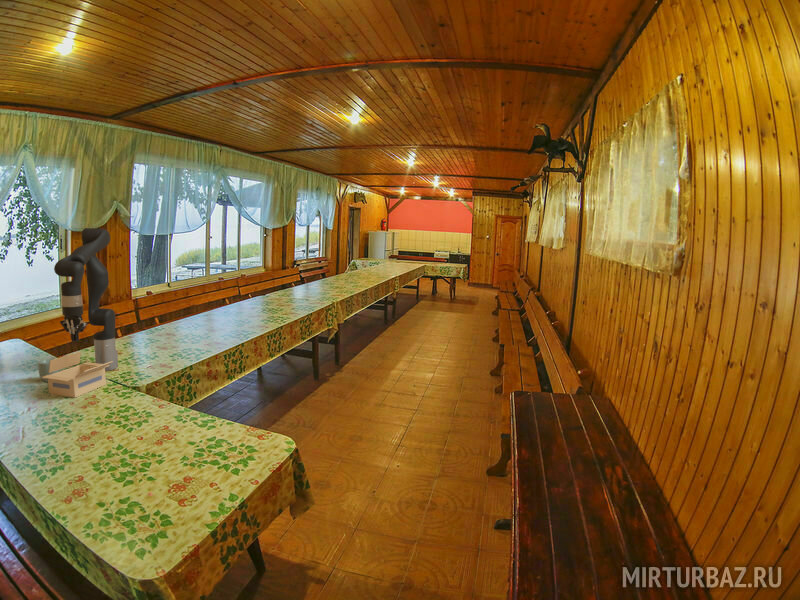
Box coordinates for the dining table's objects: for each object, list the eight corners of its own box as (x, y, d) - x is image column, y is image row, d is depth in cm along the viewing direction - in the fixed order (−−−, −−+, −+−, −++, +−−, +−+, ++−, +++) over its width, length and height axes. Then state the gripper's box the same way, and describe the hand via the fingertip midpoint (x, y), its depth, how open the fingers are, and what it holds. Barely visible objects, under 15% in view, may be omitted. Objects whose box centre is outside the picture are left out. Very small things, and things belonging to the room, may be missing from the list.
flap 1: (79, 363, 202) (78, 362, 202) (80, 351, 201) (80, 351, 201) (49, 372, 188) (48, 372, 188) (50, 360, 187) (49, 360, 187)
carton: (87, 379, 208) (86, 361, 206) (111, 383, 205) (110, 365, 204) (42, 396, 186) (40, 377, 184) (68, 400, 184) (66, 380, 182)
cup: (48, 384, 200) (46, 364, 198) (35, 382, 201) (33, 362, 200) (64, 378, 207) (63, 359, 206) (51, 376, 209) (50, 357, 207)
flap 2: (75, 376, 186) (75, 377, 186) (84, 370, 184) (84, 371, 184) (104, 366, 200) (104, 367, 200) (112, 360, 199) (113, 361, 199)
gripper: (92, 304, 191) (94, 340, 194) (68, 302, 194) (70, 337, 197) (76, 307, 184) (79, 344, 187) (52, 304, 186) (55, 341, 189)
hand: (75, 341), depth 192 cm, fingers closed
